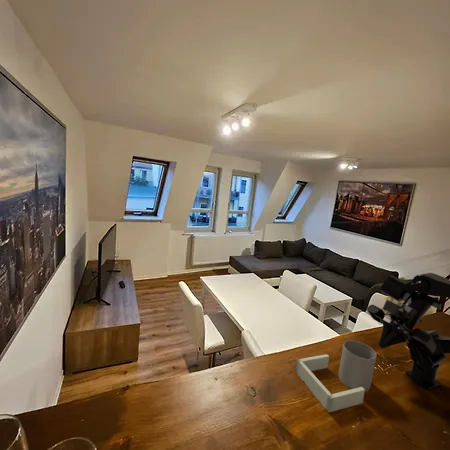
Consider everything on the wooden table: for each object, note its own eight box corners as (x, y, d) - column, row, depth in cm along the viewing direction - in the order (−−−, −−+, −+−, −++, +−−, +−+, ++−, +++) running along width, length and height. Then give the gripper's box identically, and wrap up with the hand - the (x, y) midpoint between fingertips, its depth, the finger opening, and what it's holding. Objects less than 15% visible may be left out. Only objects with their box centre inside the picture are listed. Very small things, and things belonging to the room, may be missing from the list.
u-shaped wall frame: (324, 365, 78) (326, 354, 77) (362, 403, 65) (364, 389, 64) (295, 371, 74) (297, 359, 74) (328, 412, 61) (331, 398, 61)
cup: (352, 393, 68) (358, 360, 66) (332, 371, 76) (337, 341, 74) (377, 389, 70) (383, 357, 69) (354, 368, 78) (360, 339, 77)
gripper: (375, 281, 82) (344, 315, 80) (438, 308, 65) (401, 352, 63) (388, 301, 86) (358, 334, 84) (451, 332, 69) (416, 375, 67)
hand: (380, 346), depth 74 cm, fingers closed
